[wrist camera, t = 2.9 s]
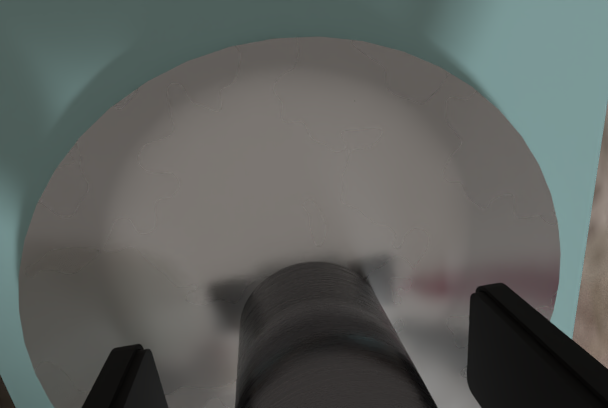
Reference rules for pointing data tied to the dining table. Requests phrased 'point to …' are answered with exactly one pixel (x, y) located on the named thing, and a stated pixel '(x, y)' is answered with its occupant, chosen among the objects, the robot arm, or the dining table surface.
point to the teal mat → (289, 24)
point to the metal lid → (286, 232)
